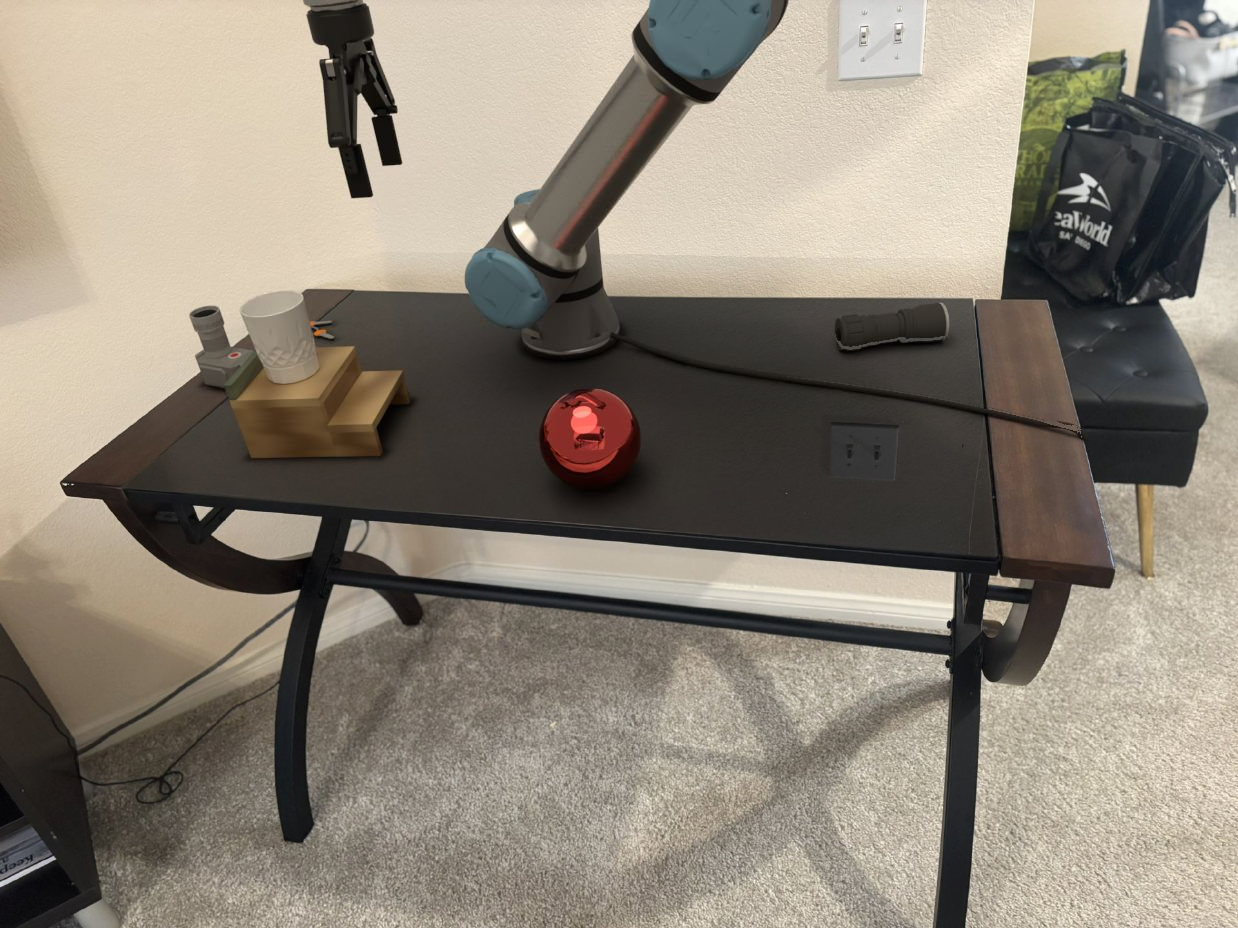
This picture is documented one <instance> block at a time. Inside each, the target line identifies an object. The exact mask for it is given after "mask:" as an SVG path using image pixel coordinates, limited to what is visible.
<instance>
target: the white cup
mask: <svg viewBox="0 0 1238 928" xmlns="http://www.w3.org/2000/svg"><path fill="white" fill-rule="evenodd" d="M239 313H240V315H241V318H242V321H243V323H244V325H245V328H246V330H247V332H248V335H249V338H250V340H251V343H252V345H253V347H254V351H255V350H256V352H257V354H258V357H259V359H260V360H261V362H262V364H263V367H264V369H265V372H266V374H267V377H268V379H269V380H270V381H272V382H274V383H279V384H289V383H296V382H299V381H302V380H305V379H307V378H309V377H310V376H312V375H314V374H315V373H316V372H317V371H318V369H319V362H318V358H317V354H316V350H315V348H317V346H316V342H315V337H314V333H313V330H312V329H313V328H311V324H310V321H311V320H310V318H309V313H308V310H307V305H306V302H305V297H304V295H303V293H302V292H300V291H297V290H292V289H291V290H290V289H289V290H288V289H281V290H273V291H269V292H265V293H261V294H258V295H256V296H252V297H251V298H249V299H248V300H246V301H245V302H243V303H242V304H241V305H240V307H239Z"/></svg>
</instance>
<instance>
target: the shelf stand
mask: <svg viewBox="0 0 1238 928" xmlns="http://www.w3.org/2000/svg"><path fill="white" fill-rule="evenodd" d="M315 350H316V354H317V358H318V362H319V369H318V371H317V372H316V373H315V374H314V375H312V376H310V377H309V378H307V379H305V380H302V381H299V382H296V383H289V384H279V383H274V382H272V381H270V380H269V379H268V377H267V374H266V372H265V369H264V367H263V364H262V362H261V360H260V359H259V357H258V354H257V352H256V350H255V349H254V350H253V351H254V352H253V353H252V354H251V355H250V356H249V357H248V359H247V360H246V361H245V362H244V363H243V364H242V365H241V367H240V368H239V369H238V370H237V371H236V372H235V373H234V374H233V376H232V377H231V378H230V379H229V380H228V381H227V382H226V383H225V385H224V388H223V389H224V390H225V393H226V395H227V398H228V401H229V404H230V406H231V409H232V411H233V414H234V417H235V419H236V422H237V424H238V427H239V430H240V433H241V435H242V438H243V440H244V443H245V445H246V448H247V450H248V453H249V456H250V458H251V459H279V458H280V459H284V458H335V457H336V458H342V457H343V458H345V457H346V458H347V457H381V456H382V454H383V453H384V450H383V446H382V443H381V440H380V439H381V438H380V436H379V432H378V429H377V427H378V425H379V424H380V422H381V420H382V418H383V417H384V415H385V413H386V411H387V409H388V408H389V407H390V406H394V405H395V406H396V405H409V404H410V403H411V397H410V393H409V390H408V386H407V381H406V377H405V374H404V373H405V372H404V370H401V369H400V370H399V369H398V370H370V371H368V370H367V371H365V370H364V371H363V370H362V367H361V363H360V360H359V356H358V353H357V350H356V346H355V345H353V346H352V345H350V346H323V347H322V346H321V347H318V346H317V347H316V348H315Z"/></svg>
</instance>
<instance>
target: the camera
mask: <svg viewBox="0 0 1238 928" xmlns="http://www.w3.org/2000/svg"><path fill="white" fill-rule="evenodd" d="M188 317H189V319H190V322H191V324H192V327H193V330H194V332H195V333H197V335H198V338H199V340H200V344H201V346H202V350H200V351H199V352H197V353H196V354H195V355H194V358H195V360H196V363H197V366H198V369H199V371H200V373H201V374H200V375H201V376H202V379H203V382H204V384H205V385H206V386H209V387H215V388H219V389H225V388H224V385H225V383H226V382H227V381H228V380H229V379H230V378H231V377H232V376H233V374H234V373H235V372H236V371H237V370H238V369H239V368H240V367H241V365H242V364H243V363H244V362H245V361H246V360H247V359H248V357H249V356H250V355H251V354H252V353H253V352H254V351H255V350H251V349H246V348H241V347H234V346H231V343H230V341H229V337H228V336H227V335H228V334H227V332H226V329H225V326H224V325H225V321H224V318H223V315H222V312H221V309H220V307H219V306H217V305H203V306H200V307H197V308H194V309H193V310H191V311H190V312H189V313H188Z"/></svg>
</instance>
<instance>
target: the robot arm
mask: <svg viewBox="0 0 1238 928" xmlns="http://www.w3.org/2000/svg"><path fill="white" fill-rule="evenodd" d="M302 2H303V5H304V6H306V7H308V8H309V10H308V11H307V12H306V15H305V16H306V20H307V23H308V27H309V31H310V35H311V39H312V41H313V43H314V44H315V45H317V46H325V47H327V49H328V58H321V59H319V61H318V65H319V69H320V74H321V79H322V87H323V100H324V110H325V123H326V135H327V144H328V146H329V148H330V149H336V148H337V149H338V152H339V156H340V160H341V164H342V168H343V171H344V175H345V176H344V177H345V180H346V183H347V187H348V191H349V196H350V198H351V199H365V198H373V196H374V192H373V189H372V184H371V180H370V176H369V171H368V168H367V163H366V159H365V154H364V151H363V148H362V147H363V146H362V143H358V98H359V97H358V96H359V95H361V96H362V98H363V99H364V101H365V102H366V105H367V106H368V107H369V109H370V111H371V112H372V114H373V116H372V117H371V118H370V119H371V123H372V124H371V125H372V127H373V132H374V137H375V140H376V145H377V148H378V153H379V158H380V162H381V166H382V167H388V166H390V167H392V166H402V165H403V160H402V154H401V151H400V150H401V149H400V146H399V141H398V137H397V132H396V127H395V123H394V117H393V115H394V114H395V115H396V114H398V112H399V109H398V105H397V104H396V99H395V96H394V94H393V92H392V89H391V87H390V84H389V82H388V79H387V77H386V73H385V72H384V69H383V66H382V65H381V62H380V60H379V56H378V54H377V49H376V47H375V42H374V40H373V38H372V37H374V35H375V29H374V23H373V19H372V15H371V10H370V6H369V5H367V3H365V2H364V0H302ZM788 5H789V0H649V4H648V8H647V9H646V10H645V12H644V14H643V15H642V17H641V18H640V19H639V21H638V22H637V24H636V25H635V27H634V29H633V30H632V32H631V43H632V50H633V55H632V56H631V58H630V59H629V60H628V62H627V64H626V65H625V66H624V68H623V69H622V71H621V72H620V73H619V75H618V76H617V78H616V79H615V81H614V82H613V84H612V85H611V86H610V87H609V90H607V92H606V94H605V95H604V96H603V98H602V99H601V101H600V103H599V104H598V105H597V106H596V108H595V110H594V111H593V112H592V114H591V115H590V116H589V118H588V120H587V121H586V122H585V124H584V125H583V127H582V128H581V129H580V131H579V132H578V134H577V135H576V137H575V138H574V140H573V141H572V142H571V144H570V145H569V147H568V148H567V150H566V151H565V153H564V154H563V156H562V157H561V158H560V159H559V161H558V162H557V164H556V166H555V167H554V168H553V170H552V171H551V172H550V174H549V176H548V177H547V179H546V180H545V182H544V183H543V184H542V186H541V187H540V188H538V189H537V188H536V189H532V190H528V191H524V192H522V193H520V194H518V195H517V196H515V198H514V200H513V206H512V208H511V209H510V211H509V212H508V213H507V215H506V216H505V218H504V219H503V220H502V222H501V224H500V225H499V226H498V228H497V229H496V231H495V232H494V233H493V235H492V237H491V238H490V239H489V240H488V242H487V243H486V244H485V245H484V246H483V248H480V249H479V250H477V251H475V252H474V254H473V255H472V257H471V258H470V260H469V261H468V263H467V265H466V268H465V271H464V285H465V289H466V291H467V292H468V297H469V300H470V301H471V303H472V305H473V306H474V307H475V309H476V310H477V312H479V314H481V315H482V316H483V317H484V318H485V319H487V320H488V321H489V322H491V324H494V325H496V326H497V327H501V328H504V329H507V330H508V329H512V330H521V339H522V345H523V347H524V349H525V350H526V351H527V352H528V353H529V354H531V355H533V356H535V357H538V358H540V359H546V360H551V361H552V360H554V361H571V360H579V359H585V358H589V357H593V356H596V355H598V354H600V353H602V352H605V351H607V350H608V349H610V348H612V346H614V345H615V344H616V343H617V342H622V343H625V344H627V345H630V346H633V347H635V348H638V349H641V350H643V351H646V352H648V353H650V354H654V355H657V356H660V357H662V358H665V359H669V360H672V361H675V362H680V363H683V364H687V365H690V366H695V367H699V368H704V369H708V370H714V371H719V372H726V373H731V374H737V375H738V374H739V375H743V376H748V377H749V376H750V377H757V378H762V379H768V380H776V381H777V380H778V381H781V382H782V381H783V382H789V383H790V382H791V383H796V384H803V385H805V384H806V385H809V386H810V385H812V386H818V387H827V388H833V389H839V390H846V391H847V390H848V391H853V392H859V393H868V394H874V395H881V396H888V397H893V398H899V399H900V398H901V399H905V400H906V399H907V400H911V401H919V402H924V403H929V404H934V405H940V406H945V407H951V408H955V409H959V410H960V409H961V410H965V411H971V412H974V413H979V414H985V415H988V416H993V417H998V418H1002V419H1006V420H1011V421H1016V422H1019V423H1024V424H1028V425H1032V426H1036V427H1041V428H1050V429H1051V428H1052V429H1062V430H1066V431H1070V432H1072V433H1073V434H1076V435H1077V436H1078V437H1079V438H1080V439H1081V436H1082V439H1081V440H1082V441H1083V442H1086V443H1087V442H1088V443H1090V442H1093V440H1092V438H1091V436H1090V435H1089V434H1088V433H1087V432H1086V431H1085V430H1084V429H1083V428H1082V427H1080V429H1081V430H1080V431H1081V434H1080V432H1078V433H1077V431H1073V430H1069V429H1066V428H1061V427H1058V426H1054V425H1050V424H1047V423H1044V422H1041V421H1037V420H1033V419H1029V418H1025V417H1020V416H1016V415H1012V414H1007V413H1003V412H998V411H994V410H989V409H984V408H980V407H975V406H970V405H965V404H960V403H955V402H950V401H945V400H939V399H934V398H928V397H923V396H917V395H911V394H905V393H899V392H893V391H886V390H879V389H873V388H866V387H859V386H852V385H845V384H838V383H830V382H823V381H815V380H808V379H801V378H802V377H804V376H800V377H801V378H794V377H790V376H792V375H791V374H784V373H776V372H768V371H763V370H755V369H749V368H743V367H736V366H730V365H724V364H719V363H713V362H707V361H703V360H699V359H695V358H690V357H686V356H683V355H679V354H676V353H672V352H670V351H666V350H663V349H660V348H657V347H653V346H651V345H648V344H645V343H644V342H641V341H638V340H635V339H633V338H630V337H627V336H625V335H623V334H621V329H620V321H619V317H618V315H617V313H616V312H615V309H614V307H613V305H612V302H611V300H610V298H609V296H608V294H607V291H606V290H605V289H606V288H605V286H604V285H605V284H604V277H603V266H602V265H603V264H602V255H601V254H602V253H601V243H600V233H599V228H600V226H601V225H602V223H603V222H604V220H606V218H607V217H608V216H609V214H610V213H611V212H612V210H613V209H614V208H615V206H616V205H617V204H618V203H619V202H620V200H622V198H623V197H624V195H625V194H626V192H627V191H628V190H629V189H630V188H631V186H632V185H633V183H634V182H635V181H636V180H637V178H638V177H639V176H640V175H641V173H642V172H643V171H644V169H645V168H646V167H647V166H648V164H649V163H650V162H651V160H652V159H653V158H654V157H655V155H656V154H657V153H658V151H659V150H660V149H661V148H662V146H663V145H664V144H665V142H666V141H667V140H668V139H669V138H670V136H671V135H672V134H673V132H674V131H675V130H676V128H677V127H678V126H679V125H680V123H682V121H683V120H684V118H685V117H686V116H687V114H688V113H689V112H690V110H691V109H692V108H693V107H694V106H695V105H696V106H697V105H711V104H713V103H714V102H715V101H716V100H717V98H718V97H719V96H720V95H721V94H722V92H723V91H724V90H725V88H726V87H727V86H728V85H729V84H730V82H731V81H732V80H733V78H734V77H735V76H736V75H737V74H738V72H739V71H740V70H741V68H742V67H743V66H744V64H746V62H747V61H748V60H749V59H750V58H751V57H752V55H754V53H755V52H756V50H757V49H758V48H759V46H760V45H761V44H762V43H763V42H764V41H765V40H766V39H767V38H769V37H770V36H771V35H772V34H773V33H774V31H775V30H776V29H777V28H778V26H779V25H780V23H781V22H782V20H783V19H784V16H785V13H786V11H787V8H788ZM787 376H789V377H787ZM797 377H799V376H798V375H797ZM804 378H806V377H804ZM810 378H811V377H810ZM811 379H813V378H811ZM825 380H826V379H825ZM826 381H828V379H827V380H826ZM834 382H836V381H834ZM840 382H841V381H840ZM841 383H843V382H841ZM847 383H848V382H847ZM848 384H850V383H848ZM854 384H855V383H854ZM855 385H857V384H855ZM861 385H862V384H861ZM862 386H864V385H862ZM868 386H869V385H868ZM869 387H871V386H869ZM875 387H876V388H878V387H877V386H875ZM882 388H883V389H885V388H884V387H882ZM895 390H896V389H895ZM896 391H898V390H896ZM901 391H902V392H904V391H903V390H901ZM907 392H908V393H910V392H909V391H907ZM913 393H914V392H913ZM914 394H916V393H914ZM919 394H920V395H922V394H921V393H919ZM936 397H937V398H939V397H938V396H936ZM952 400H953V399H952ZM953 401H955V400H953ZM957 401H958V400H957ZM958 402H960V401H958ZM962 402H963V403H965V402H964V401H962ZM967 403H968V404H970V403H969V402H967ZM972 404H973V405H975V404H974V403H972ZM991 408H992V407H991ZM992 409H994V408H992ZM1000 410H1001V409H1000ZM1001 411H1003V410H1001ZM1009 412H1010V413H1012V412H1011V411H1009ZM1022 415H1023V414H1022ZM1023 416H1025V415H1023ZM1056 421H1057V422H1059V423H1062V424H1064V425H1065V424H1066V425H1071V426H1072V425H1075V424H1074V423H1071V422H1067V421H1061V420H1056ZM1078 427H1079V426H1078ZM1078 427H1077V428H1078ZM1078 431H1079V430H1078Z"/></svg>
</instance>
